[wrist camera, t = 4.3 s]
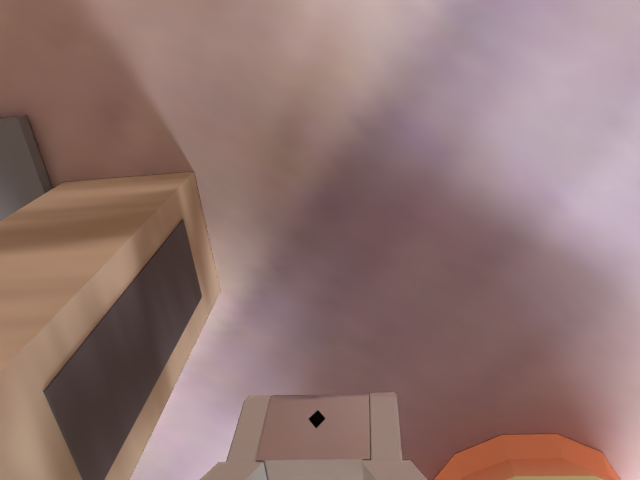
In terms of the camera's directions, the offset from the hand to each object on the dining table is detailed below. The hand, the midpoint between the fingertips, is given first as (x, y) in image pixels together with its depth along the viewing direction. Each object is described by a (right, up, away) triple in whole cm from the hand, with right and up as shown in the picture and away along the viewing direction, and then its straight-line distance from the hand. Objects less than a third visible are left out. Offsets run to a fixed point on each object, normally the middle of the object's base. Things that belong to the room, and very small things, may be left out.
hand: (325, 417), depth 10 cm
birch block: (-7, +4, +9) cm, 12 cm away
